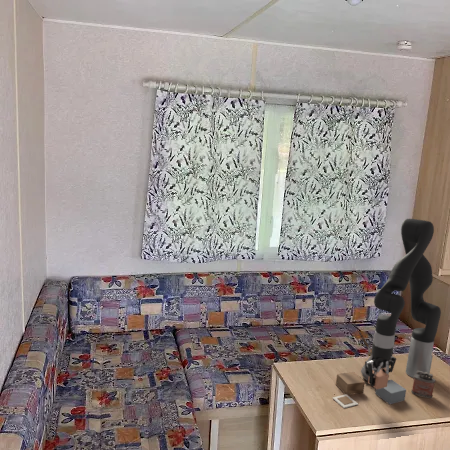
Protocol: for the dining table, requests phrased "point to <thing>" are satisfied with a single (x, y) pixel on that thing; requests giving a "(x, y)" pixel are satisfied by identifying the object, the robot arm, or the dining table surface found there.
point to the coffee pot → (367, 360)
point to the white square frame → (345, 401)
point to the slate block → (392, 392)
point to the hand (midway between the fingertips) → (377, 383)
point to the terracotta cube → (380, 380)
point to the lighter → (423, 384)
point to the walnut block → (350, 383)
